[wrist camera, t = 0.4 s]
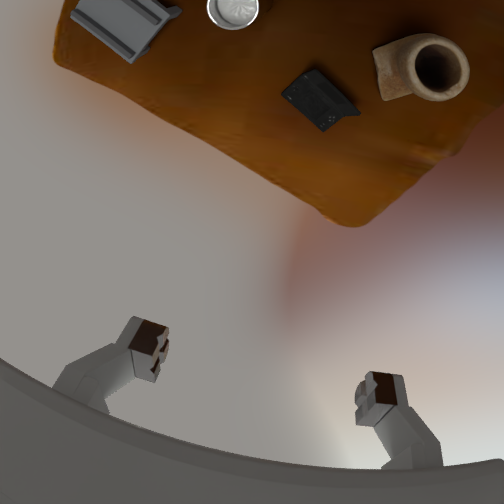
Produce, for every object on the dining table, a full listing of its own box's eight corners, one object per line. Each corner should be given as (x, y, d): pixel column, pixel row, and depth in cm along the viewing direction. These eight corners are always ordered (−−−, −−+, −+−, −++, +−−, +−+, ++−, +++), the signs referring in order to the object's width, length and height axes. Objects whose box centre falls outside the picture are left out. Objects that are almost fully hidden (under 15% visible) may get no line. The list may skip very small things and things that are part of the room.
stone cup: (433, 16, 34) (469, 32, 24) (455, 77, 40) (489, 112, 31) (354, 39, 41) (365, 60, 32) (381, 97, 48) (396, 136, 39)
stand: (120, -36, 34) (96, -33, 29) (184, 10, 42) (166, 16, 37) (89, 10, 42) (65, 19, 37) (146, 54, 49) (126, 66, 45)
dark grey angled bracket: (274, 105, 53) (295, 99, 44) (291, 73, 51) (314, 63, 42) (325, 134, 57) (353, 136, 48) (340, 104, 56) (369, 100, 46)
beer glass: (272, -22, 36) (254, -23, 26) (280, 14, 41) (265, 26, 31) (230, -15, 37) (199, -11, 28) (239, 20, 43) (211, 35, 33)
